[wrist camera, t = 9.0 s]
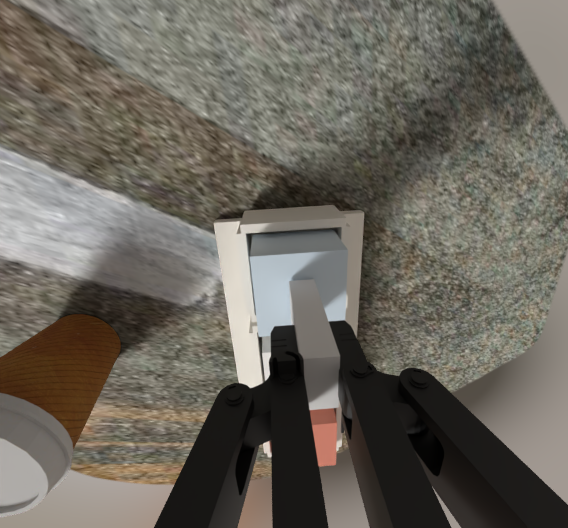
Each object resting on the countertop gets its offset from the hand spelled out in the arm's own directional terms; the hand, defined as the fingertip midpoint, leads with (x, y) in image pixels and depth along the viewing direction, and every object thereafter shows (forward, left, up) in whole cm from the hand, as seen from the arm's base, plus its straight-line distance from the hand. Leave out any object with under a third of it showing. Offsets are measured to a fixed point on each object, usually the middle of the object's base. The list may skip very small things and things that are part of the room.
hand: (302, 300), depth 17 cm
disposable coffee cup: (+8, -20, -9) cm, 23 cm away
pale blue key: (0, 0, -4) cm, 4 cm away
